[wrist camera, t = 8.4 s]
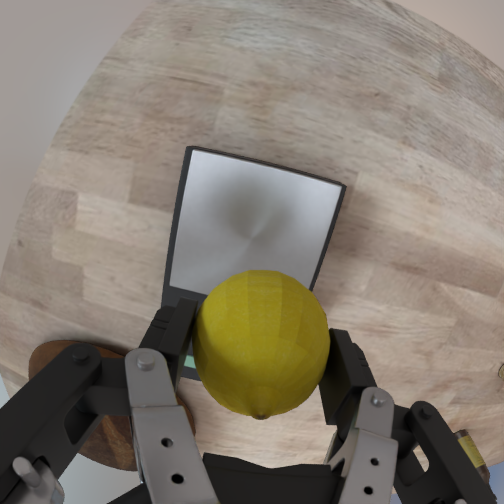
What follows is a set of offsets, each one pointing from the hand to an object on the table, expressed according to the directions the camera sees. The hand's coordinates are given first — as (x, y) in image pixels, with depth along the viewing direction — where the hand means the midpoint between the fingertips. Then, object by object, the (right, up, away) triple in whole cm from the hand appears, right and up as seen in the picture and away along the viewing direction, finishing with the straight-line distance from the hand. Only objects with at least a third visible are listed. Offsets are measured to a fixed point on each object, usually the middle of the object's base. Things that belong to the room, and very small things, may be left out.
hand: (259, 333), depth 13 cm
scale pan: (0, +5, +13) cm, 14 cm away
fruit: (0, +1, +3) cm, 4 cm away
